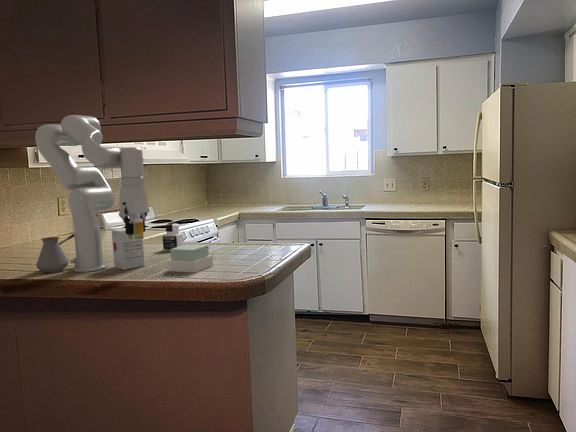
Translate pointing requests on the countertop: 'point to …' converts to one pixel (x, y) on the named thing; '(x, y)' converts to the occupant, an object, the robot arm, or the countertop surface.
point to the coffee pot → (52, 255)
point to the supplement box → (126, 250)
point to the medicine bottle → (172, 237)
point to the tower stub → (190, 258)
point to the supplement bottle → (137, 228)
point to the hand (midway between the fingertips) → (135, 232)
